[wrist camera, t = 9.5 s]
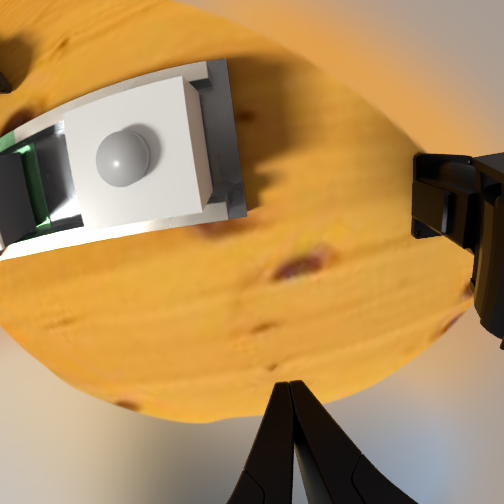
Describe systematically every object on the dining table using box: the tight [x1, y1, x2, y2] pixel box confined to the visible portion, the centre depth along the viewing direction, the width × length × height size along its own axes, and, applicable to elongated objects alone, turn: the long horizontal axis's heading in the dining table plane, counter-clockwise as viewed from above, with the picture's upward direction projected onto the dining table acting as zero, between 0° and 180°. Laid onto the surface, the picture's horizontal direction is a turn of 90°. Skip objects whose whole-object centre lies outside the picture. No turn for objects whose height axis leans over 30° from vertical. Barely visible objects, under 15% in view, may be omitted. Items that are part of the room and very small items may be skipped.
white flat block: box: [0, 152, 37, 250], centre depth 14 cm, size 2×6×4 cm, turn 7°
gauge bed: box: [0, 59, 247, 260], centre depth 14 cm, size 24×10×6 cm, turn 97°
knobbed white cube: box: [63, 76, 213, 233], centre depth 13 cm, size 6×6×5 cm
